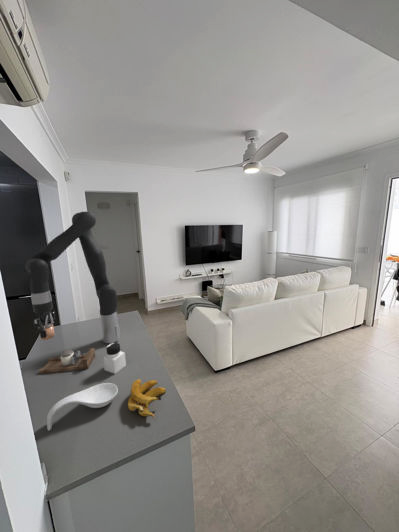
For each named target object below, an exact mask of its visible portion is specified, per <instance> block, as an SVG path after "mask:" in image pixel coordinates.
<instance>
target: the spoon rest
mask: <svg viewBox="0 0 399 532" xmlns="http://www.w3.org/2000/svg"><path fill="white" fill-rule="evenodd" d="M118 388H119V387H118V386H117V385H116V384H115V383H113V382H112V383H111V382H104V383H98V384H95V385H93V386H91V387H88V388H85V389H83V390H81V391H78V392H74V393H72V394H70V395H68V396H65V397H64V398H62V399H60V400H58V401H57V402H56V403H55V404H54V405H52V407H51V408H50V410H49V411H48V413H47V415H46V426H47V427H46V428H47V431H48V432H49V431H50V430H52V427H53V419H54V416H55V414H56V413H57V412H58V411H60V409H63V407H65V406H66V405H69V404H74V403H75V404H79V405H83V406H86V407H88V408H91V409H100V408H103V407H106V406H107V405H109V404H110V403H112V401H114V399H115V398H116V396H118V392H119V390H118Z"/></svg>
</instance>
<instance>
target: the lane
mask: <svg viewBox="0 0 399 532" xmlns="http://www.w3.org/2000/svg"><path fill="white" fill-rule="evenodd" d="M95 358H96V351H95V347H93V348H89V350H88V351H87V352H86V353H85V354H82V355H81V359H80V361H79V362H78V364H77V365H76V366H72V365H71V366H66V367H62V362H61V356H57V357H50V358H49V359H48V362H47V363H46V364H45V365H44V367H42V368H39V370H38V374H48V373H49V374H51V373H58V372H59V373H61V372H69V371H79V370H81V371H82V370H88V369H89V368H90V366H91V364H92V363H93V361H95V360H94V359H95Z"/></svg>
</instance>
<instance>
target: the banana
mask: <svg viewBox="0 0 399 532" xmlns="http://www.w3.org/2000/svg"><path fill="white" fill-rule="evenodd" d="M157 384H158V381H157V380H153V379H152V380H147V381H146V382H144V383H143V384H142V380H141V379H136V380H135V381H133V383H132V384H131V387H130V395H129V398H128V400H127V407H128V409H129V411H131V412H132V411H135V410H137V409H138V411H137V412H138V414H139V415H140V416H142V417H148V416H151V417H152V418H155V416H156V415H155V414H154V413H153V412H151V411H150V410H149V404H150V403H152V402H153V401H162V397H161V395H163V394H165V393H166V388H163V387H161V386H159V387H154V386H156V385H157ZM153 387H154V388H153ZM151 388H152V389H151Z"/></svg>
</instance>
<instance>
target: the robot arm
mask: <svg viewBox="0 0 399 532" xmlns="http://www.w3.org/2000/svg"><path fill="white" fill-rule="evenodd" d="M96 222H97V221H96V217H95V215H94V214H93V213H92V212H89V211H80V212H76V213H75V214H73V216H72V218H71V225H70V226H69V227H68V228H67V229H65V230H64V231H63V232H62V233H60V234H59V235H57V236H56V237H54V238H53V239H52V240H51V241H50V242H48V243H47V244H46V245H45V246H44V247H43V248H42V249H41V250H39V251H37V253H35V254H34V255H32V256H31V257H30V258H29V259H28V260H27V261H26V262H25V263H24V269H25V270H26V272H28V273H30V282H29V289H30V293H31V294H30V295H31V296H30V298H31V304H32V310H33V311H32V312H33V313H35V314H36V319H32V324H33V326H34V330H35V332H39V337H40V339H41V338H46V337H47V336H46V330H45V327H46V325H47V323H52V325H53V326H54V322H55V321H56V310H55V308H54V306H53V299H52V293H51V289H50V284H49V276H50V274H49V273H50V272H49V271H50V270H49V263H50V262H52V261H55V260H56V259H58V258H59V257H60V256H61V255H63V253H64V252H65V251H66V250H67V249H68V248H69V247H70V246H71V245H72V244H73V243H74V242H75V241H76V240H77V239H79V242H80V246H81V249H82V253H83V256H84V258H85V262H86V264H87V267H88V270H89V272H90V275H91V277H92V280H93V282H94V289H95V294H96V296H97V298H98V300H99V305H100V309H99V317H100V325H101V335H102V342H103V343H104V344H112V343H117V342H119V341H120V338H121V330H120V322H119V319H118V295H117V291H116V290H115V288H113V287H112V286H111V284H110V281H109V279H108V276H107V264H106V259H105V257H104V253H103V251H102V248H101V247H100V246H99V244H98V242H97V241H96V240H95V238H94V236H93V233H92V229H93V228H94V226H95V225H96ZM53 308H54V309H53ZM42 325H43V328H42Z"/></svg>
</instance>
